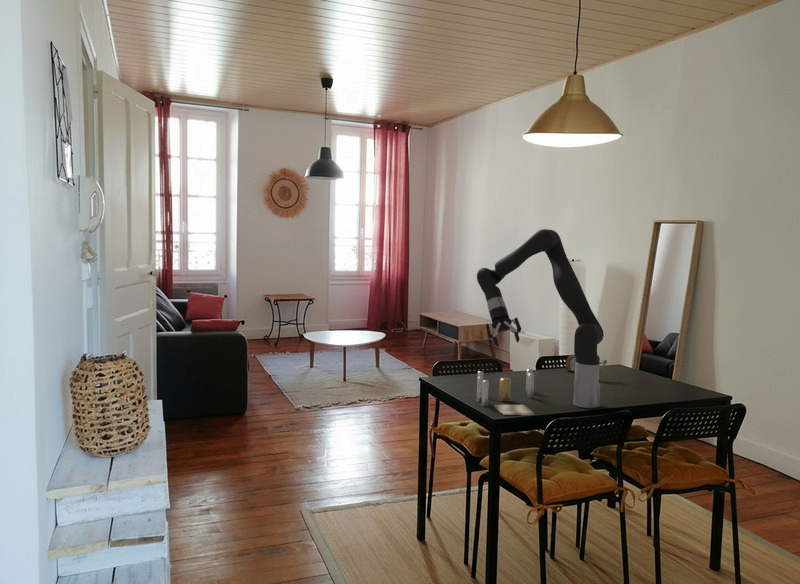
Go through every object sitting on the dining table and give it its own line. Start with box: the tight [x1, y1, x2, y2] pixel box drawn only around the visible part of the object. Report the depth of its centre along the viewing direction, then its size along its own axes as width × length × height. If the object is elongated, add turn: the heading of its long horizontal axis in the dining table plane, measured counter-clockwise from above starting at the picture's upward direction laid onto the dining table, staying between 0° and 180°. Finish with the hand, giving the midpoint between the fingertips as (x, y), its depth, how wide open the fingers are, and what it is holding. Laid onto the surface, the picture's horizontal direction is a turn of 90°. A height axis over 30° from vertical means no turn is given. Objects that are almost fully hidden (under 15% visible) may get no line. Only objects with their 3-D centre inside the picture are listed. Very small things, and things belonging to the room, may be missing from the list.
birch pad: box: [493, 404, 535, 416], centre depth 233 cm, size 12×12×1 cm
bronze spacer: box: [498, 377, 512, 403], centre depth 248 cm, size 4×4×9 cm
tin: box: [564, 354, 576, 373], centre depth 311 cm, size 15×3×8 cm, turn 122°
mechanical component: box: [599, 359, 608, 369], centre depth 292 cm, size 3×10×10 cm, turn 79°
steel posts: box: [476, 368, 535, 407], centre depth 251 cm, size 28×24×10 cm
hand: (507, 344), depth 254 cm, fingers open, 8 cm apart
